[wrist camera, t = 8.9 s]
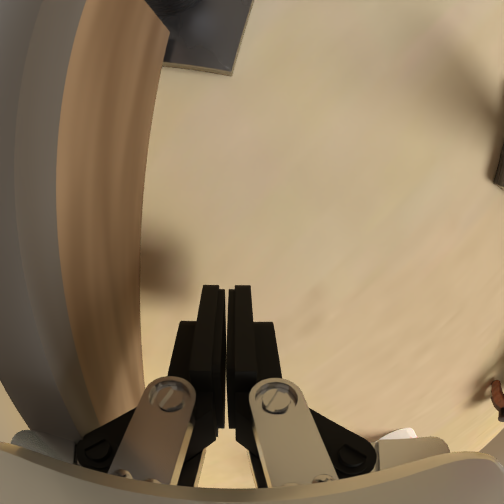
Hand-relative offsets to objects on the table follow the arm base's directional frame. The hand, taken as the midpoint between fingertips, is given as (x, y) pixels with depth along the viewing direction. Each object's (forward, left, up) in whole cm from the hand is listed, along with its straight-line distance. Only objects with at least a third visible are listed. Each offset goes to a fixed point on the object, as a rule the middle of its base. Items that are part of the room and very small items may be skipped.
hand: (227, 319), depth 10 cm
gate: (-1, -4, -1) cm, 5 cm away
